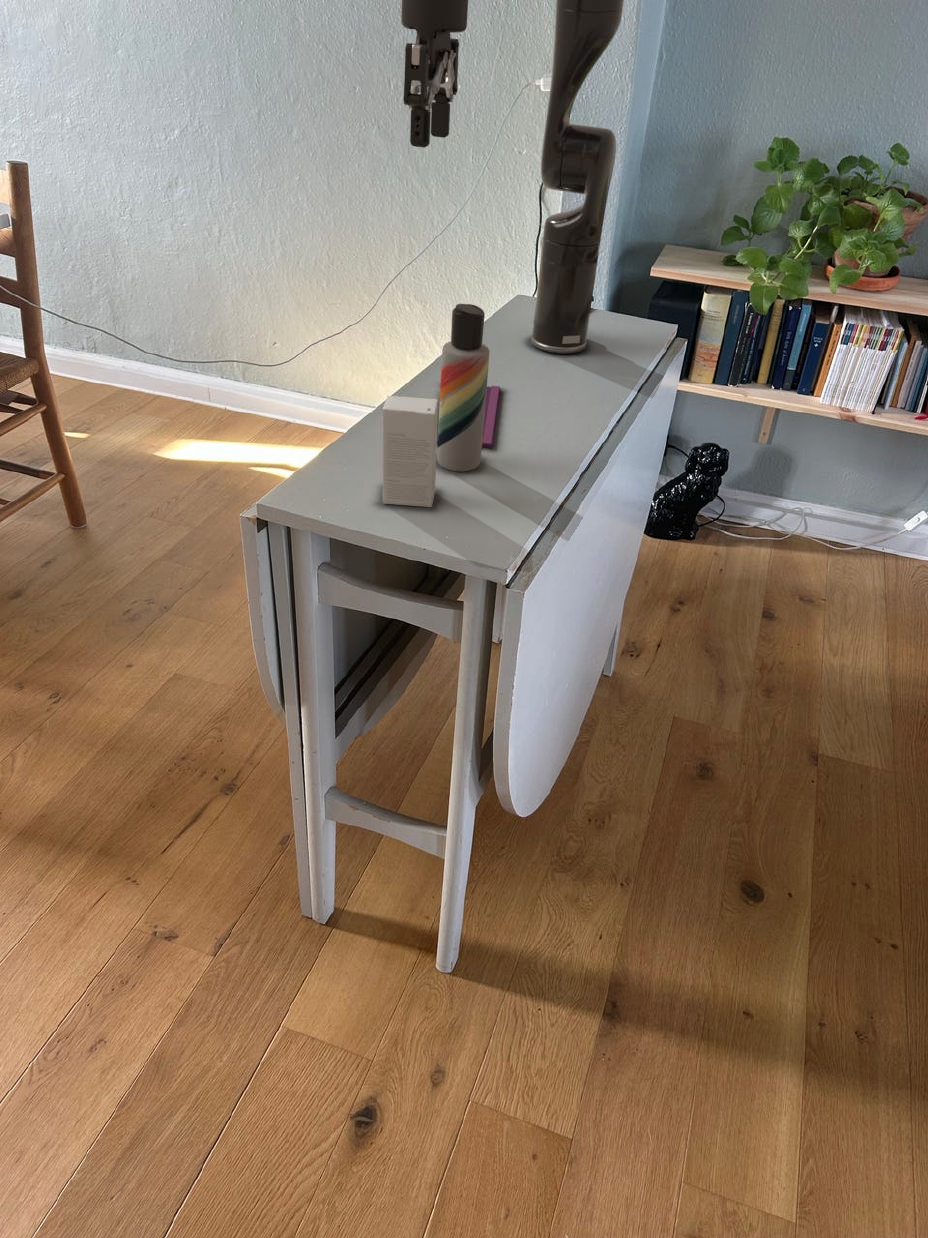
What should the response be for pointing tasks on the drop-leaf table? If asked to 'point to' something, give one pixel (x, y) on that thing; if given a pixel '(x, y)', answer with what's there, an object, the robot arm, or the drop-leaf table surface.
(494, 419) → the purple rectangular block
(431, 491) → the cosmetic box
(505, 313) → the drop-leaf table surface
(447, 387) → the lotion bottle
